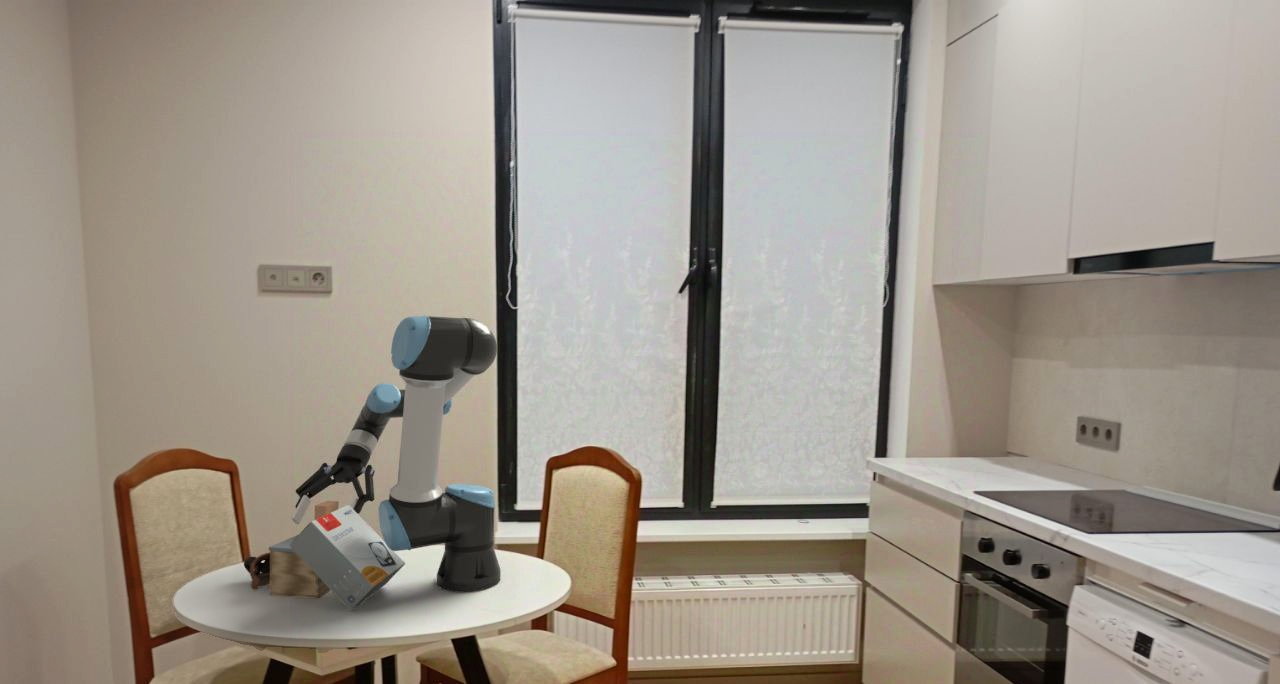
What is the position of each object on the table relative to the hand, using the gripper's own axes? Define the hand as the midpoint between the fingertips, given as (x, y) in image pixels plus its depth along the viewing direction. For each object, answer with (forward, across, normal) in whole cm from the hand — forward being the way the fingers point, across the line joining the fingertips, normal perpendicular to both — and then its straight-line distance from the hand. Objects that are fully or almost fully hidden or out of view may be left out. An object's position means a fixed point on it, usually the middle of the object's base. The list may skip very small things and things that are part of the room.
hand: (320, 522), depth 160 cm
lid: (+5, 0, -1) cm, 5 cm away
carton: (+12, 0, -8) cm, 14 cm away
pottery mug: (+12, +12, -8) cm, 19 cm away
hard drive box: (+14, -20, -2) cm, 25 cm away
